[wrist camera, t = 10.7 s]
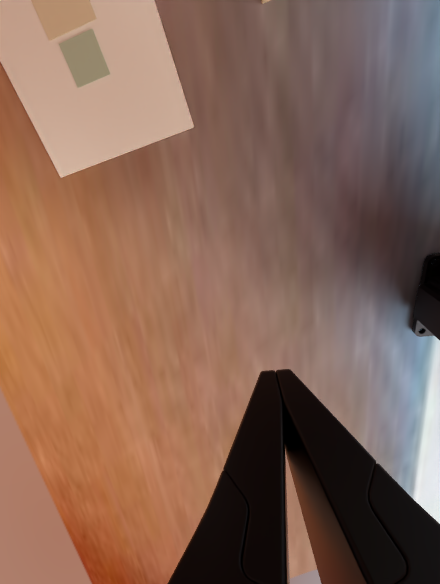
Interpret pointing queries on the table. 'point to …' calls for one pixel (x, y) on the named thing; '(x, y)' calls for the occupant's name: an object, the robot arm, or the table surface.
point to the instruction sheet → (92, 76)
